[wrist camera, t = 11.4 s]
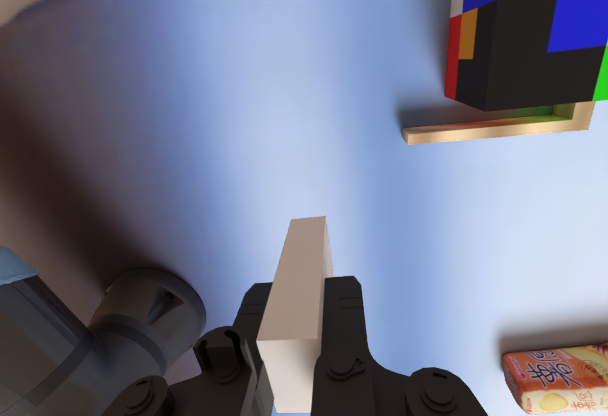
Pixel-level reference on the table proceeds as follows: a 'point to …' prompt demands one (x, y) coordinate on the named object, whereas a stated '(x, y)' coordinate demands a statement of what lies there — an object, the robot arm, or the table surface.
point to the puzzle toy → (527, 53)
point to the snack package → (559, 379)
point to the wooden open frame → (506, 126)
